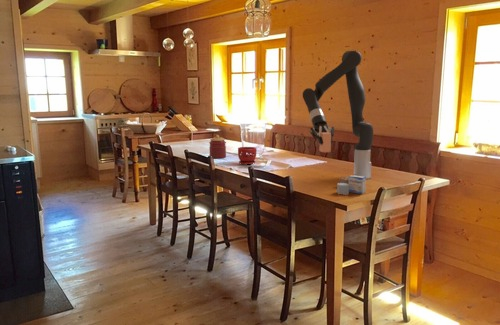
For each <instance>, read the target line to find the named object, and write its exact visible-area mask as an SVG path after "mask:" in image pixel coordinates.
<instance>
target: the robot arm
mask: <svg viewBox="0 0 500 325" xmlns="http://www.w3.org/2000/svg"><path fill="white" fill-rule="evenodd" d="M361 62H362V54H361V52H359V51H357V50H347V51H345V52H344V53H343V54H342V56H341V63H339V65H337V66H336V67H335V68H333V69H332V70H331V71H329V72H327V73H326V74H325V75H323V76H322V77H321V78H320V79H319V80H318V81H317V82H316V83H315V89H312V88H309V87H308V88H306V89H304V90H303V92H302V99H303V101H304V103H305V105H306V108H307V111H308V113H309V117H310V122H311V124H312V127H310V129H309V132H310V134H311V136H312V137H313V139H314V140H316V139H317V140H318V142H319V145H320V144H321V145H322V144H323V140H322V137H321V134H320V133H323V132H327V133H331V145H332V144H333V142H334V141H333V138H334V136H335V128H334V126H332V127H330V126H329V125H328V123H327V120H326V119H327V118H326V117H325V114H324V111H323V110H322V107H321V105H320V103H319V101H320V100H321V98H322V96H323V95H324V93H326V91H328V89H330V88H331V87H332V86H333V85H334V84H335V83H337V82H338V81H339V80H340V79H341V78H342V77H343V76H344V75H345V81H346V88H347V96H348V101H349V104H350V105H349V106H350V113H351V125H352V126H351V127H352V129H351V130H352V132H353V135H354V136H355V137H356V138H359V140H358V143H356V144H354V153H353V154H354V157H353V158H354V159H353V161H354V162H353V175H356V176H364V177H366V180H368V179H371V178H372V162H371V152H372V150H371V148H372V145H373V138H374V128H373V125H372V124H371V123H369V122H365V121H364V116H363V111H364V107H365V103H366V94H365V88H364V84H363V83H362V80H361V79H360V75H359V73H358V66H359V65H360V64H361Z"/></svg>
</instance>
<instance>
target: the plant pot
mask: <svg viewBox="0 0 500 325" xmlns="http://www.w3.org/2000/svg"><path fill="white" fill-rule="evenodd" d="M237 156H238V159H239V161H238V163H239V164H240V165H241V164H243V165H242V166H248V165H247V164H253V163H254V164H256V161H255V160H256V158H257V147H252V146H240V147H238V148H237ZM254 164H253V165H254Z"/></svg>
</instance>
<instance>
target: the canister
mask: <svg viewBox="0 0 500 325" xmlns="http://www.w3.org/2000/svg"><path fill="white" fill-rule="evenodd" d="M225 140H226V138H224V137H222V136H221V137H220V135H219V134H216V135H215V136H214V137H211V138H210V140H209V142H208V143H209V157H210V156H212V157H213V158H212V159H216V160H217V159H218V160H220V159H226V158H227V146H226V143H227V141H225Z"/></svg>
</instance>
